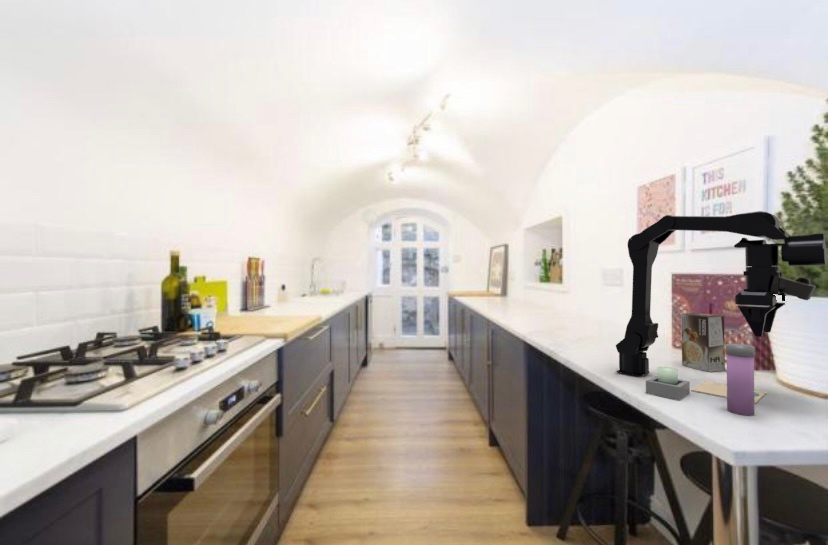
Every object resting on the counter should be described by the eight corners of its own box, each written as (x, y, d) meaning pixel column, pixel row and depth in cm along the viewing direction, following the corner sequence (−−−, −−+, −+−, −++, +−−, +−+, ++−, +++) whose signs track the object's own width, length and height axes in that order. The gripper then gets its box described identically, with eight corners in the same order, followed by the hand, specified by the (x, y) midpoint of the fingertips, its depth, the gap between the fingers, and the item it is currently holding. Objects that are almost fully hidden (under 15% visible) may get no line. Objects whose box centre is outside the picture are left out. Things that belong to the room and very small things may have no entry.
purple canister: (723, 411, 81) (723, 345, 81) (729, 406, 84) (729, 342, 84) (752, 417, 78) (751, 348, 78) (757, 412, 81) (756, 345, 81)
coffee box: (726, 370, 113) (726, 315, 113) (709, 372, 111) (708, 316, 111) (696, 363, 122) (696, 312, 122) (680, 365, 120) (680, 313, 120)
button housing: (645, 393, 94) (645, 380, 94) (657, 387, 98) (657, 375, 98) (679, 400, 88) (679, 387, 88) (689, 394, 93) (689, 381, 93)
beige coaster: (691, 391, 95) (691, 389, 95) (705, 382, 102) (705, 381, 102) (755, 403, 86) (755, 402, 86) (766, 393, 92) (766, 392, 92)
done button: (655, 385, 93) (655, 368, 93) (661, 381, 96) (661, 365, 96) (674, 388, 90) (674, 371, 90) (680, 385, 93) (680, 368, 93)
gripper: (805, 265, 77) (806, 344, 77) (817, 265, 89) (818, 333, 89) (734, 267, 86) (735, 337, 86) (753, 266, 98) (754, 328, 98)
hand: (762, 334), depth 89 cm, fingers open, 9 cm apart
